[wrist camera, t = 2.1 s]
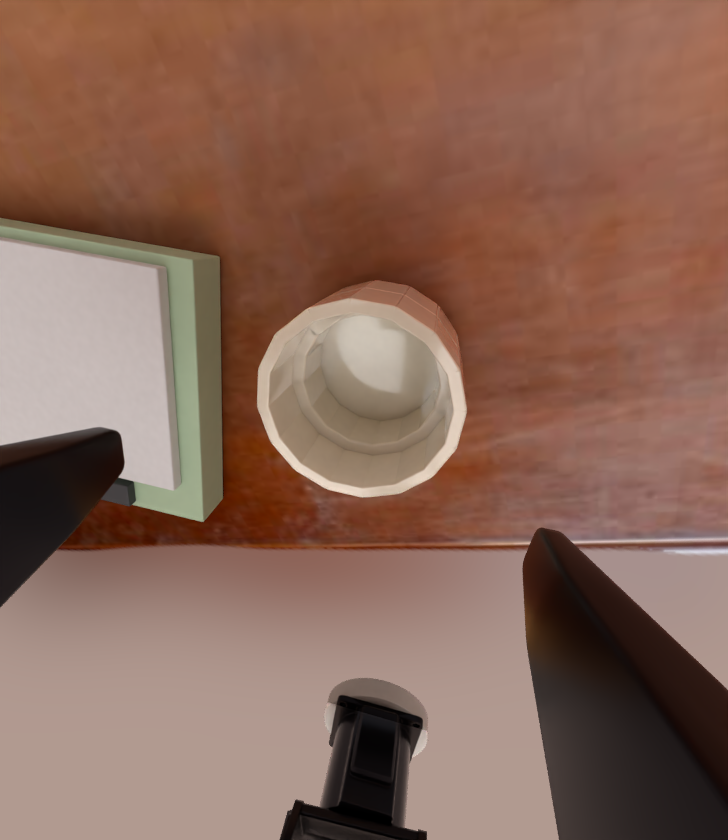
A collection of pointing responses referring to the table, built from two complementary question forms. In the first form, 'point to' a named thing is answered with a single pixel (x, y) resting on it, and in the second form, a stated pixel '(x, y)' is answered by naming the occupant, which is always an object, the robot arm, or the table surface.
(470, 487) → the table surface
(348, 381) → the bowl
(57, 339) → the scale
